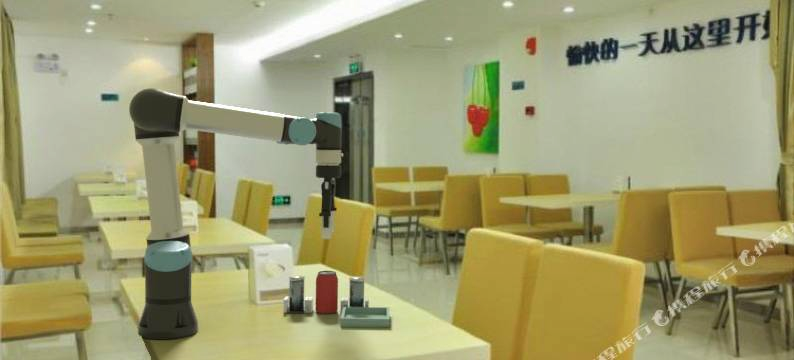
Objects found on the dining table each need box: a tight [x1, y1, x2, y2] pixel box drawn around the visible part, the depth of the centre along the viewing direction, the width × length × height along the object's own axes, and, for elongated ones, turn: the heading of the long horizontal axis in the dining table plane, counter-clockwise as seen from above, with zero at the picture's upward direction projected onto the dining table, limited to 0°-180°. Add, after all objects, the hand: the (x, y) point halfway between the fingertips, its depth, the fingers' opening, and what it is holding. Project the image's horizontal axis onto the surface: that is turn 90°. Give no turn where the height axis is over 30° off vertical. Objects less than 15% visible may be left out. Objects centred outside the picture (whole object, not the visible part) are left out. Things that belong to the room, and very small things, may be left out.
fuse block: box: [283, 275, 370, 315], centre depth 211 cm, size 5×25×10 cm, turn 91°
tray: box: [339, 306, 391, 328], centre depth 202 cm, size 14×14×2 cm
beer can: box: [315, 270, 339, 315], centre depth 211 cm, size 7×7×12 cm
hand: (328, 235), depth 210 cm, fingers open, 13 cm apart
